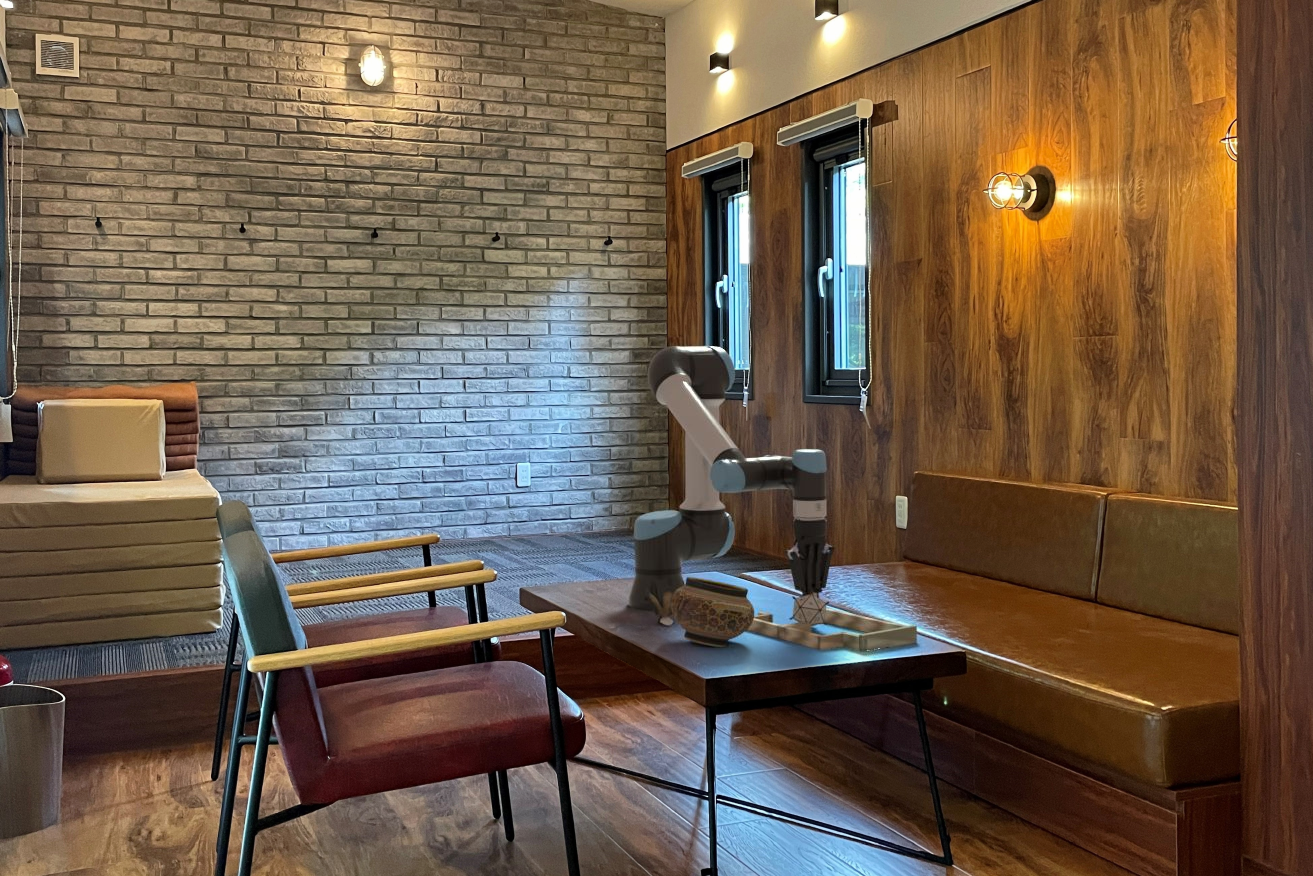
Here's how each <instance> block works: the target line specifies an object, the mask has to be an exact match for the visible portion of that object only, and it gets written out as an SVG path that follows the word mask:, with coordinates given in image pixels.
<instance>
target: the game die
mask: <svg viewBox="0 0 1313 876" xmlns="http://www.w3.org/2000/svg"><path fill="white" fill-rule="evenodd" d="M792 599H793V600H794V602H793V603H794V604H793V610H792V617H790V618H789V619H788V620H790V621H793V620H794V621H796V623H797V622H806V623H810V624H811V627H814V626H817V625H822V624H823V625H824V626H827V625H828V623H826V622H824V620H825V612H826V608H827V605H829V604H830V601H826V602H825V601H824V600H822V599H821V598H820V597H819V598H818V597H816V596H815V595H813V590H812V591H811V594H809V595H805V596H800V597H795V596H793V595H792Z"/></svg>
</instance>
